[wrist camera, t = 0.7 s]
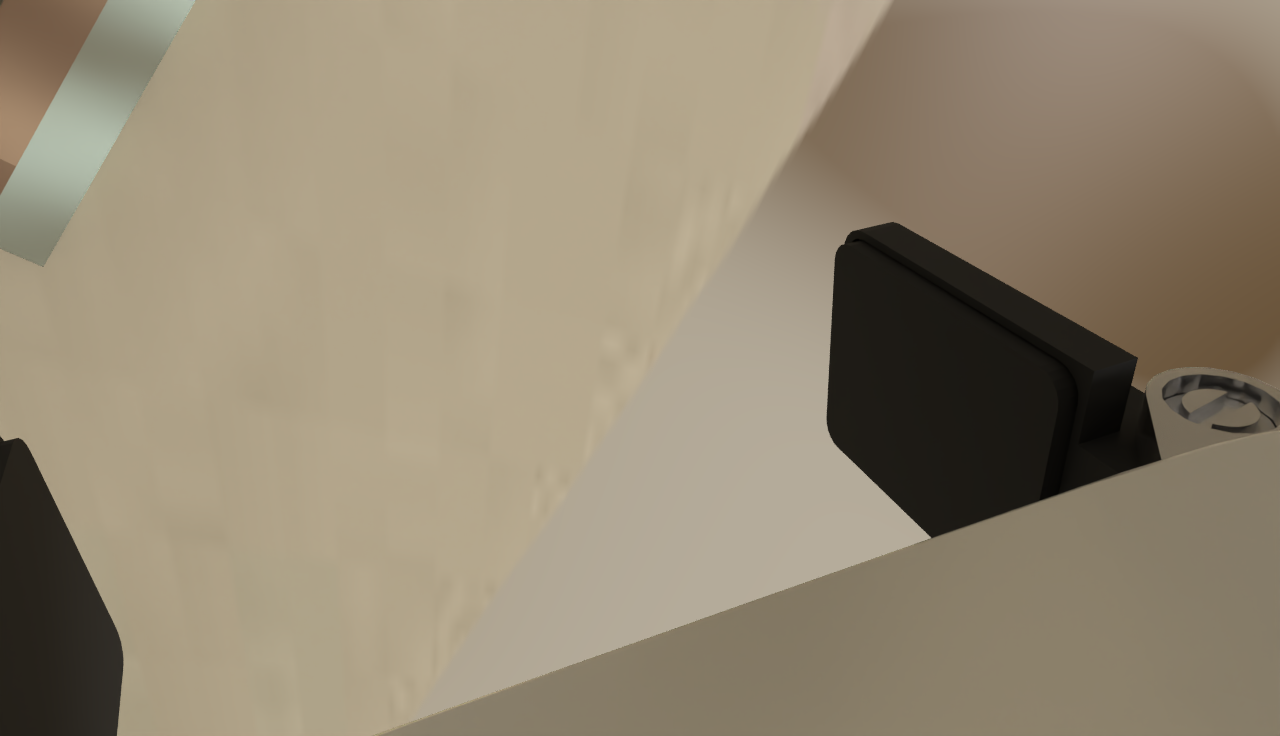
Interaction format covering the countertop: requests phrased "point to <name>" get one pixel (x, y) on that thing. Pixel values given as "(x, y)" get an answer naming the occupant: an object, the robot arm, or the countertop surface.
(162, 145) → the countertop surface
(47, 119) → the socket holder
